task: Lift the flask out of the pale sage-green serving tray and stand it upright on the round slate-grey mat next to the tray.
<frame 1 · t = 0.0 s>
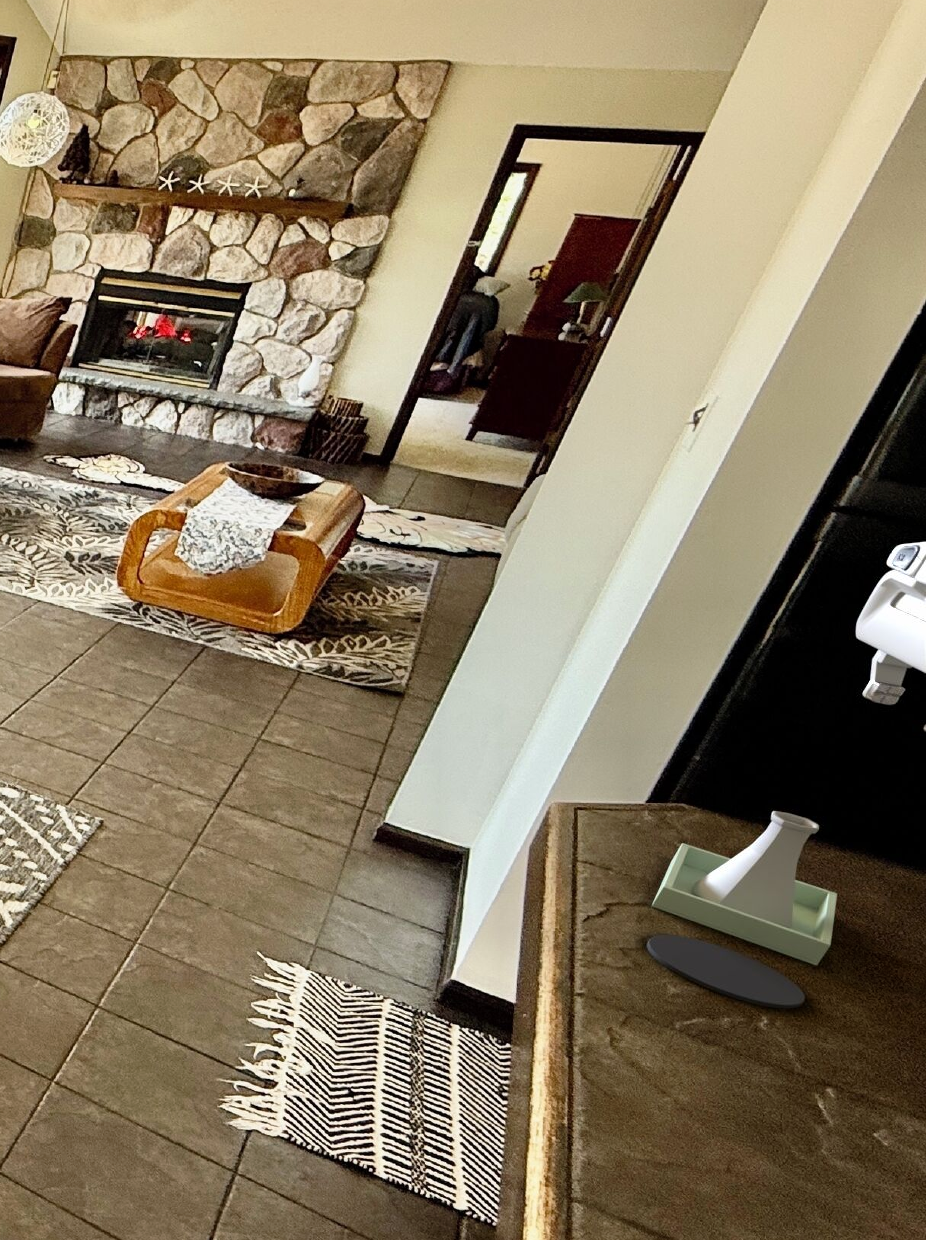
hand: (907, 718, 104), 21 cm above the countertop, tool pointing down, fingers open, 8 cm apart
flask: (739, 908, 112), resting in tray
tray: (738, 909, 112), on the countertop
mat: (722, 972, 102), on the countertop
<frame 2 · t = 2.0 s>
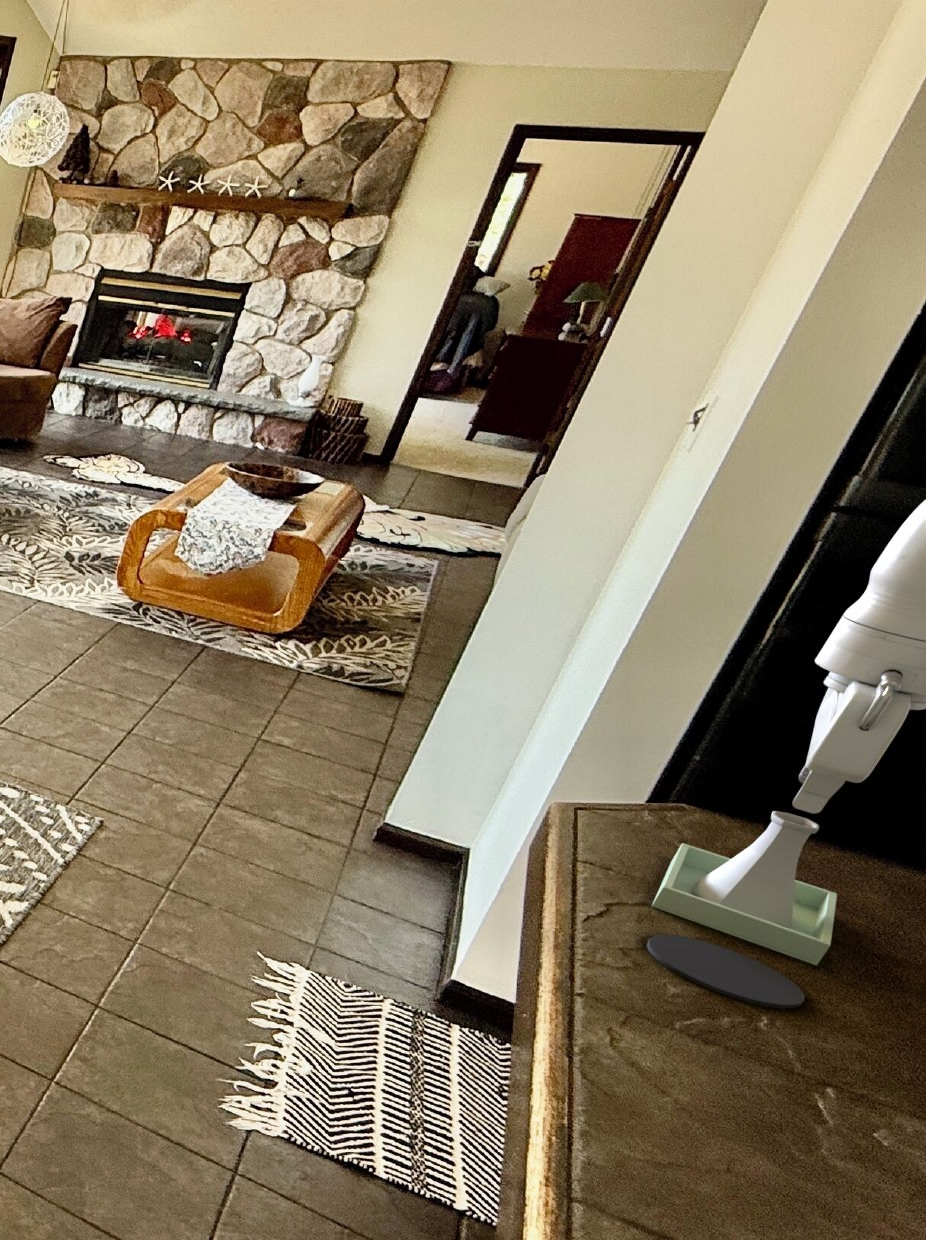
hand: (807, 796, 107), 13 cm above the countertop, tool pointing down, fingers open, 8 cm apart
nothing on the countertop moved.
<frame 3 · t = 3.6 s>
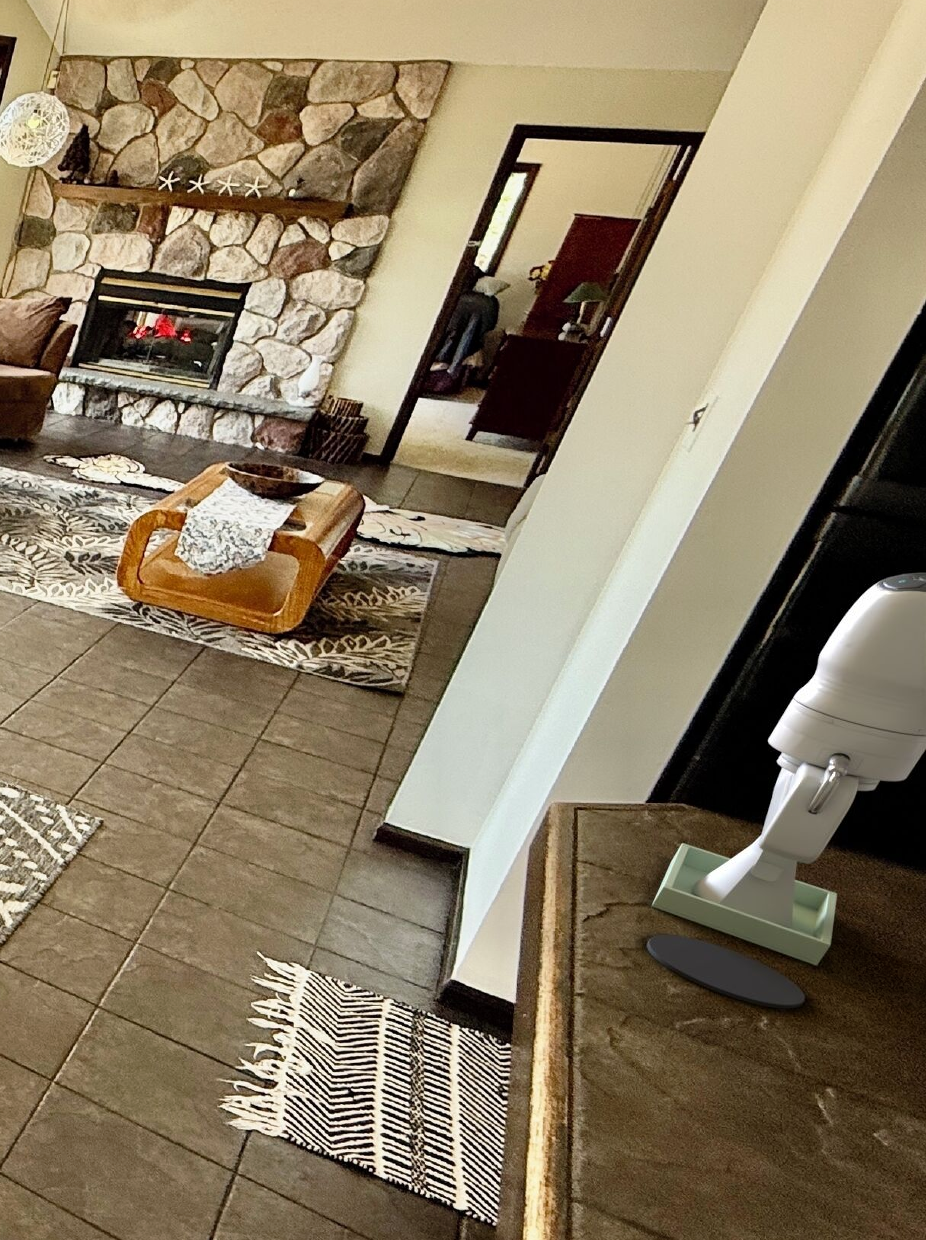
hand: (764, 870, 110), 5 cm above the countertop, tool pointing down, fingers closed on flask, 3 cm apart
flask: (739, 908, 112), resting in tray, touching gripper
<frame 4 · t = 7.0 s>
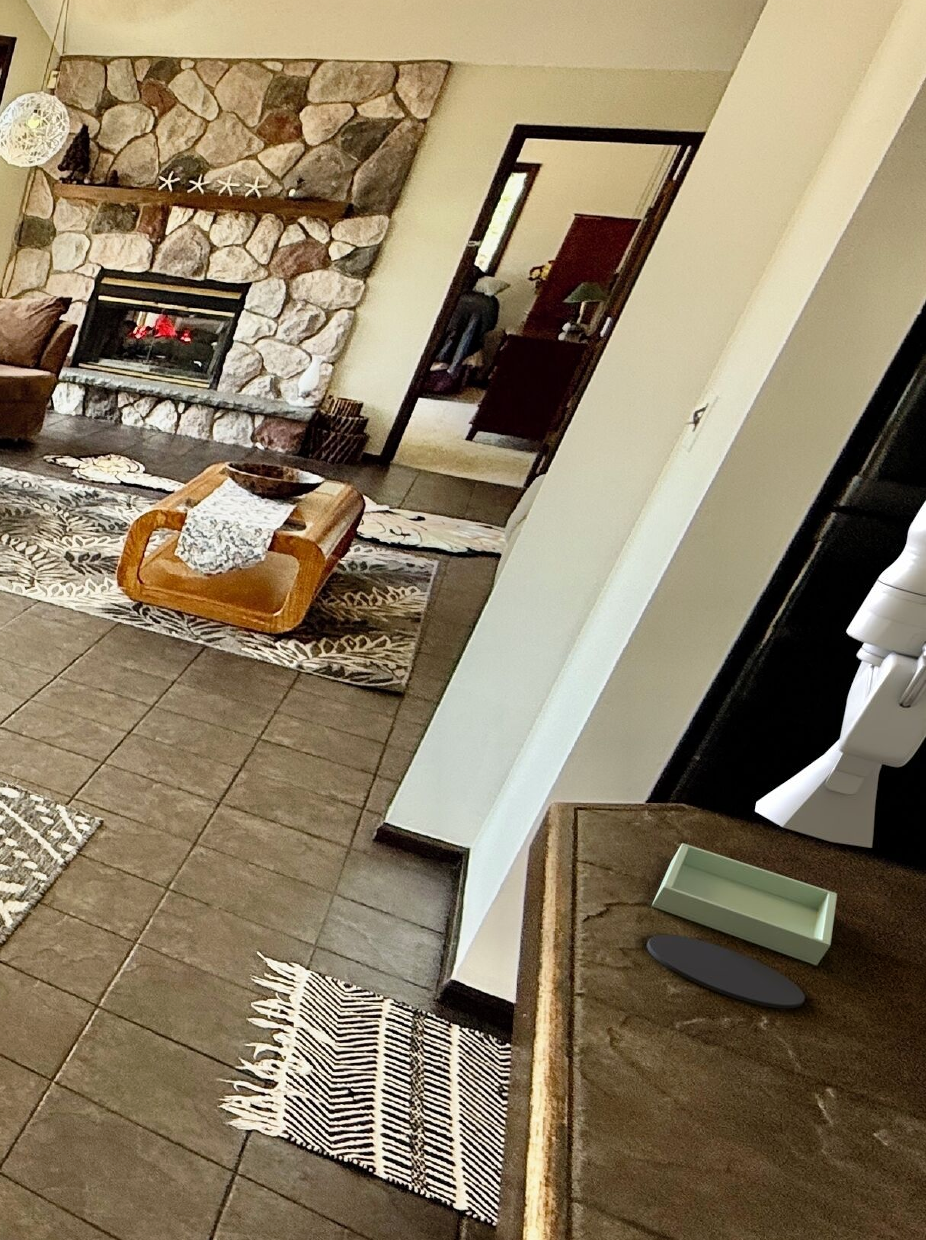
hand: (839, 783, 96), 19 cm above the countertop, tool pointing down, fingers closed on flask, 3 cm apart
flask: (809, 829, 98), point 14 cm above the countertop, touching gripper
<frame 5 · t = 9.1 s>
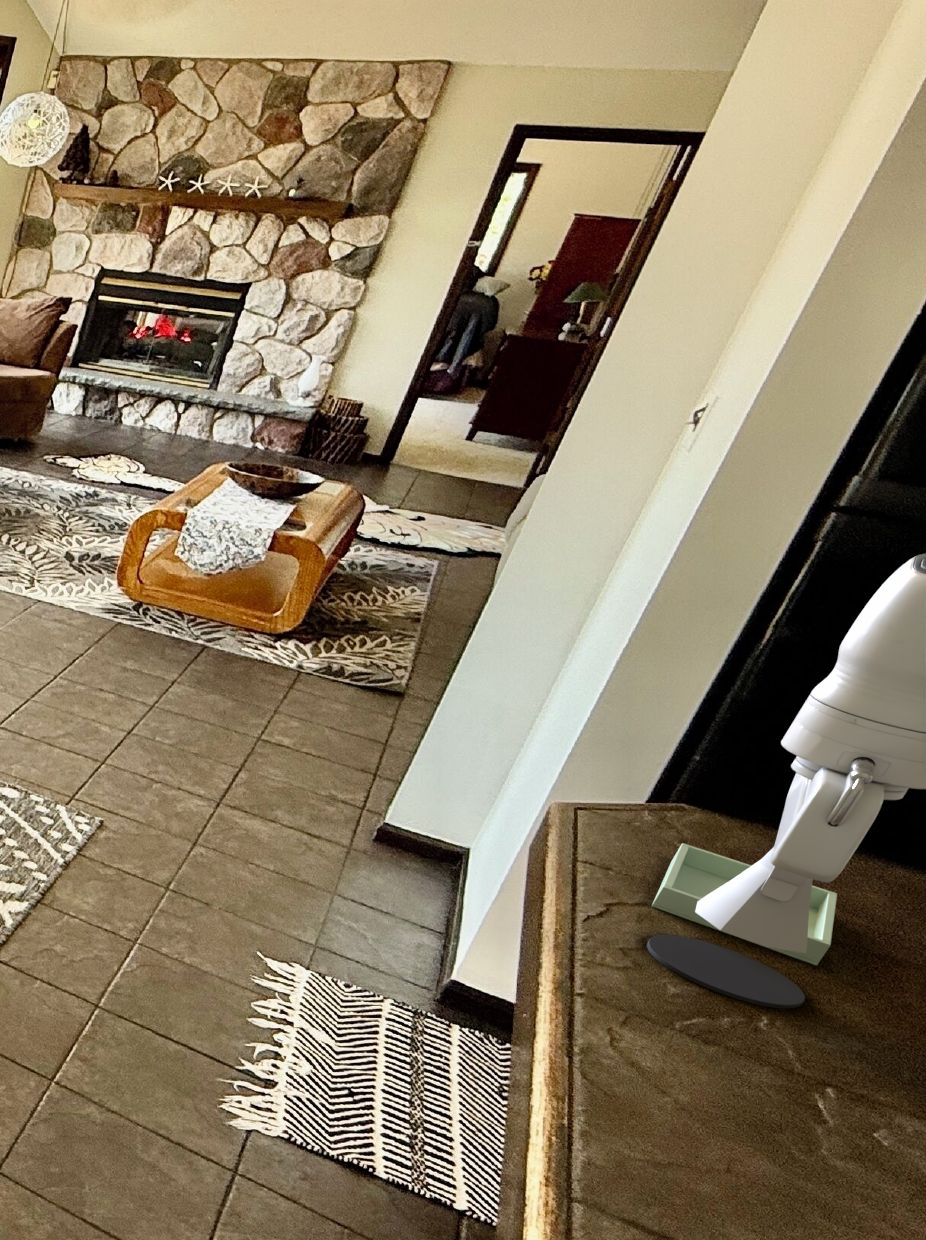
hand: (775, 888, 98), 9 cm above the countertop, tool pointing down, fingers closed on flask, 3 cm apart
flask: (747, 931, 100), point 4 cm above the countertop, touching gripper
when the fingers open (5 cm above the countertop, at t = 10.5 s): flask stays where it is, resting on mat.
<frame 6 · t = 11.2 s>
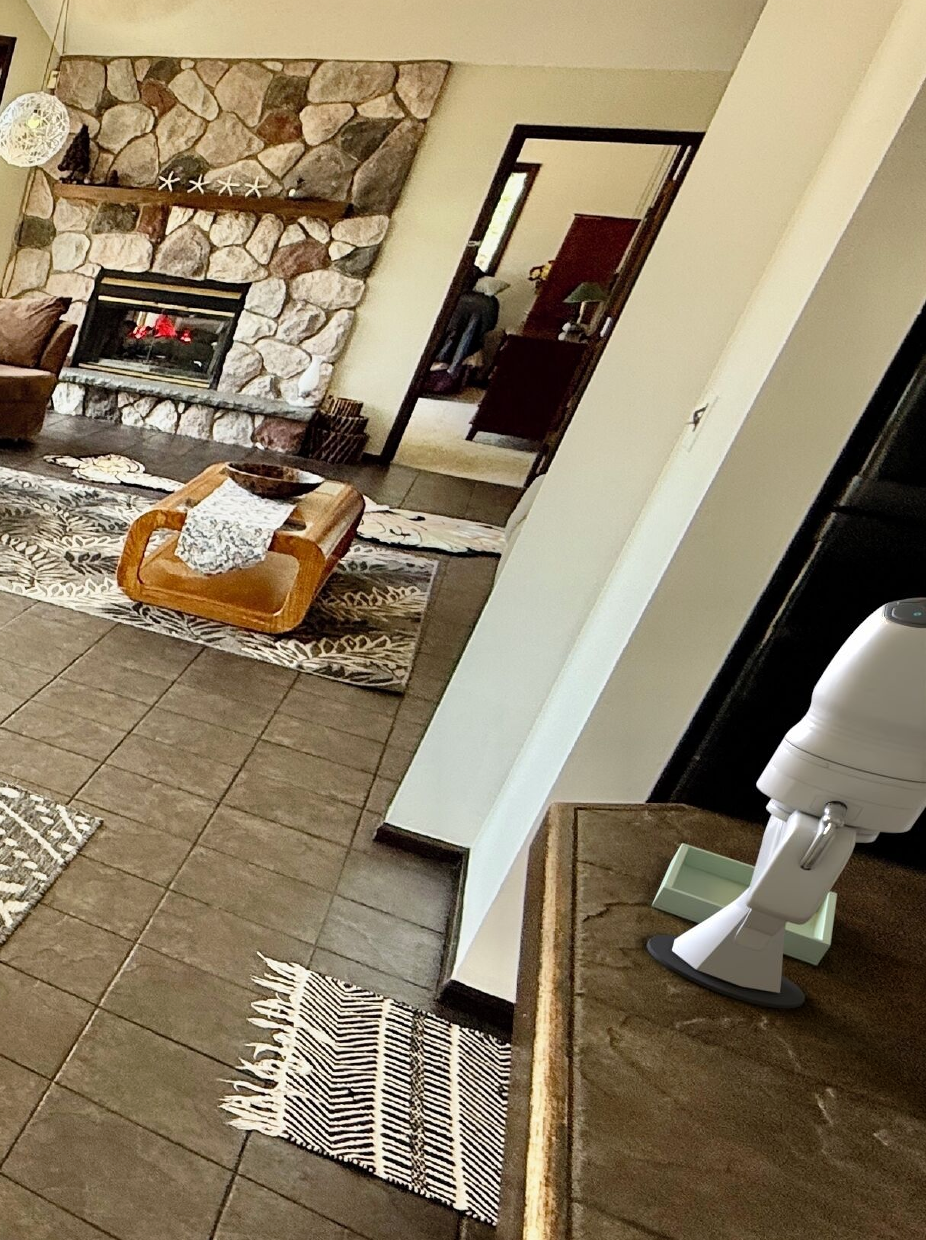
hand: (752, 926, 100), 5 cm above the countertop, tool pointing down, fingers open, 8 cm apart
flask: (722, 969, 102), resting on mat
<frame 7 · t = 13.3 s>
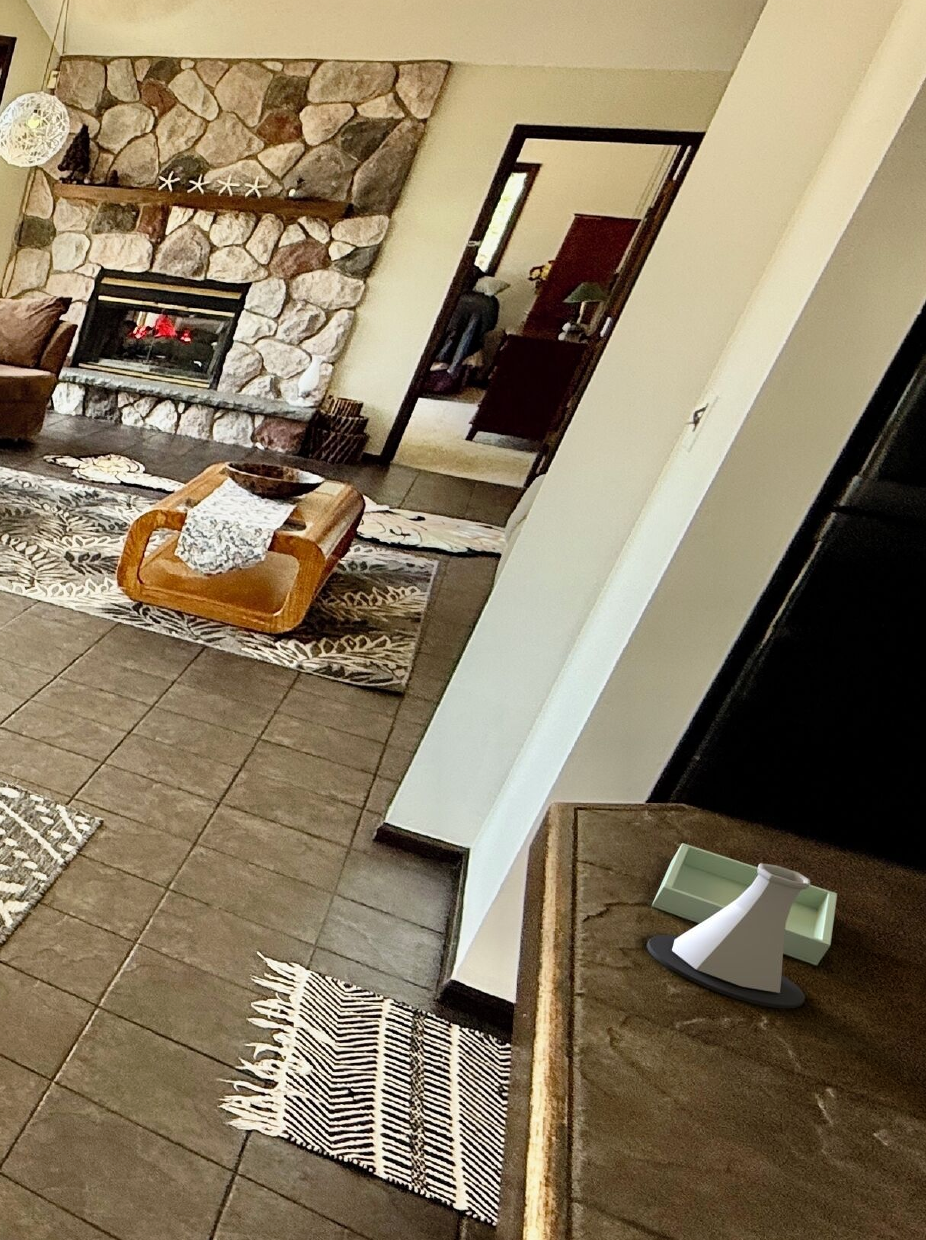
nothing on the countertop moved.
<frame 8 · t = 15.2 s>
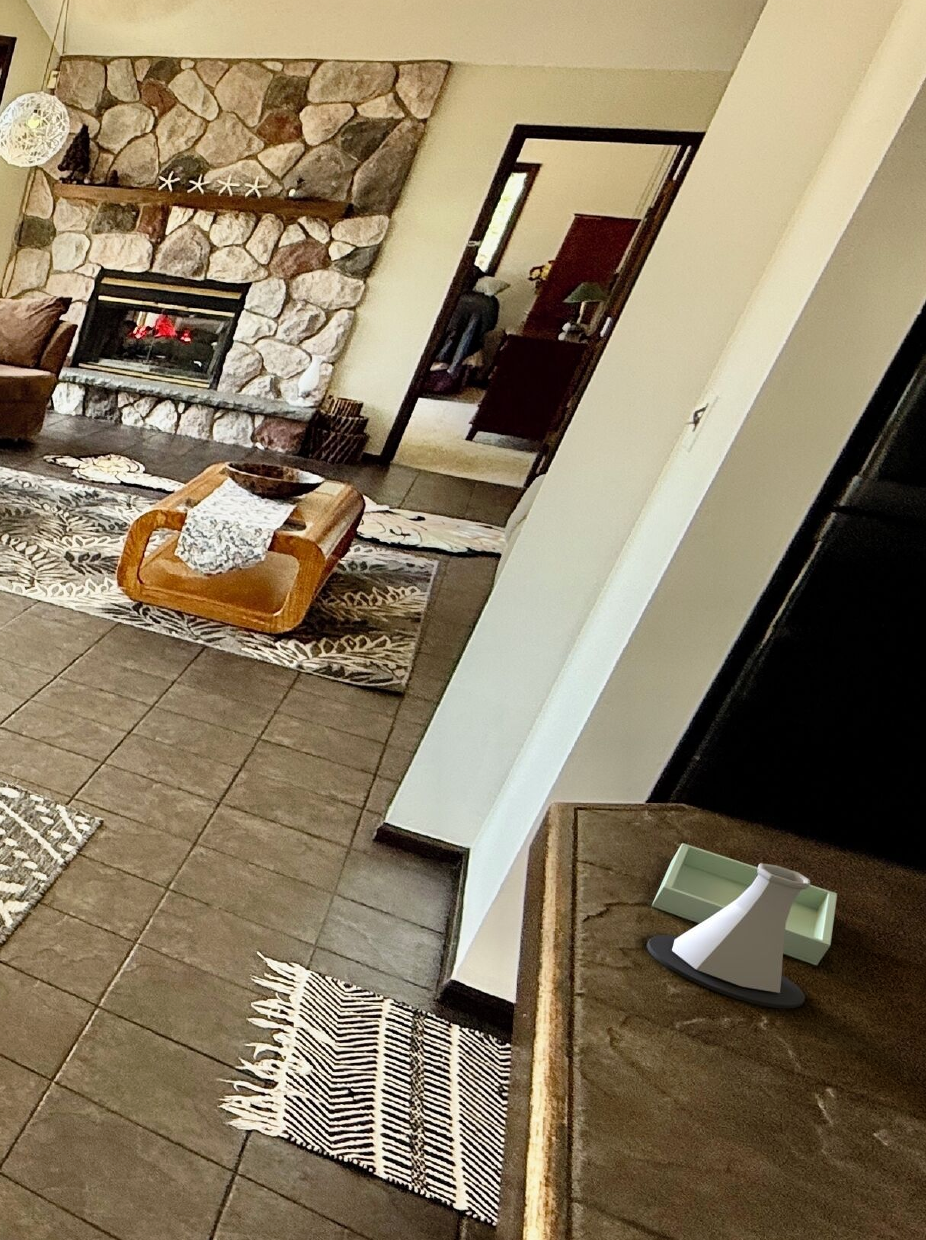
nothing on the countertop moved.
at the end: flask 0.1 cm off-centre on the mat, point 0.2 cm above the mat's base; flask tilted 0°; flask touching mat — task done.
